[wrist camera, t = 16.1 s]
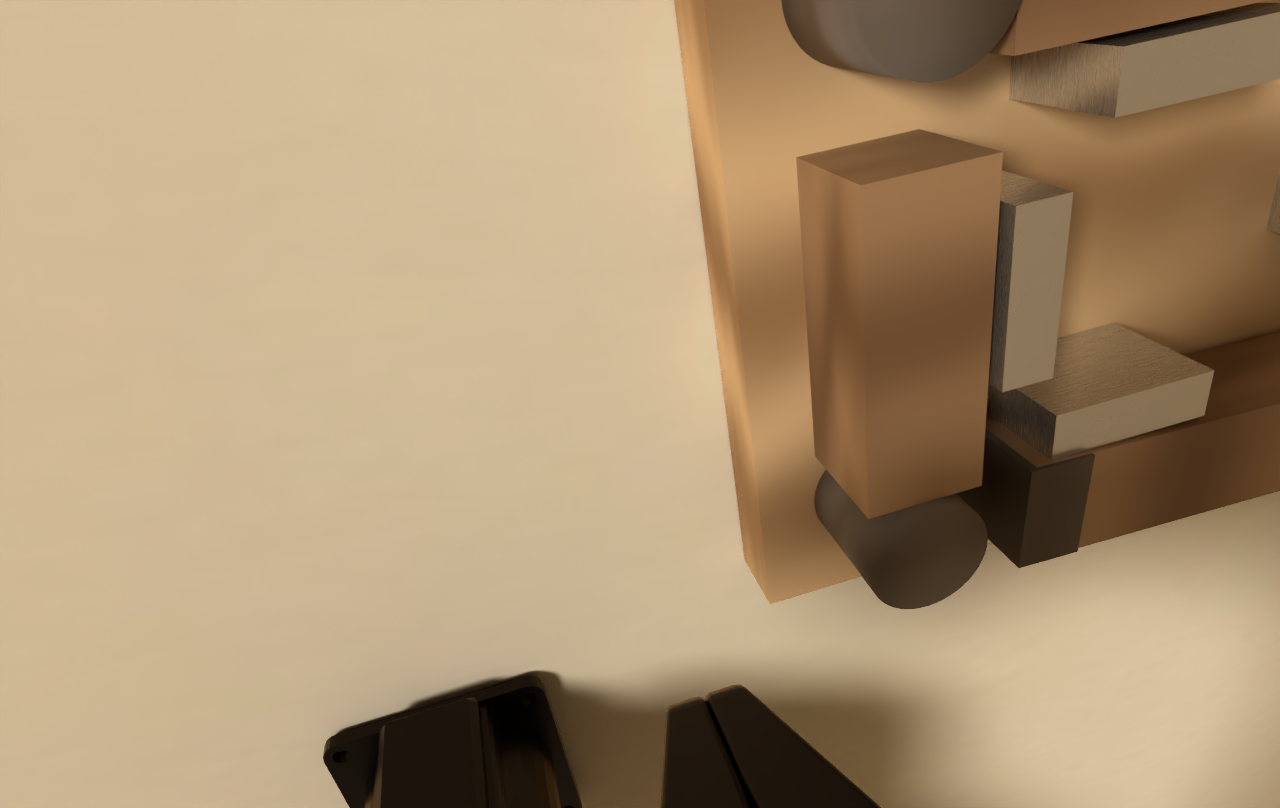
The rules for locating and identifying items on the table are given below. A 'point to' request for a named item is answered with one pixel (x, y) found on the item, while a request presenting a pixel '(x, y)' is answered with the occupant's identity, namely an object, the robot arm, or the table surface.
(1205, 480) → the leg
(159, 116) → the table surface
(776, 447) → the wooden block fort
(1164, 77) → the brackets
